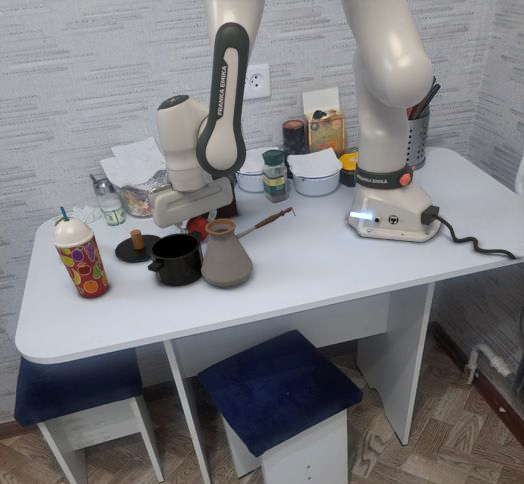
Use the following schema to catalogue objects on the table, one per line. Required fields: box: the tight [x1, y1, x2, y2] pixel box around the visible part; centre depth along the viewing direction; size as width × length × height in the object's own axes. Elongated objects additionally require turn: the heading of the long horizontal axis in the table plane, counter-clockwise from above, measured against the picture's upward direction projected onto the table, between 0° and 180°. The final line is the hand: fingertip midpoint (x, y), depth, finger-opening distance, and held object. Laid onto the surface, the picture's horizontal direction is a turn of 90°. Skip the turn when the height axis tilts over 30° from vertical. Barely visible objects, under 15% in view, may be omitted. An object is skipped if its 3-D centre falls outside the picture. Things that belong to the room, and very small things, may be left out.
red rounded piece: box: [185, 216, 210, 244], centre depth 115 cm, size 6×6×8 cm
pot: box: [147, 231, 204, 288], centre depth 106 cm, size 11×17×7 cm
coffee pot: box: [201, 206, 296, 289], centre depth 100 cm, size 21×12×15 cm, turn 96°
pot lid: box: [114, 229, 161, 262], centre depth 116 cm, size 12×12×5 cm
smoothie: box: [51, 206, 109, 299], centre depth 99 cm, size 8×8×20 cm
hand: (198, 231), depth 116 cm, fingers closed on red rounded piece, 6 cm apart
